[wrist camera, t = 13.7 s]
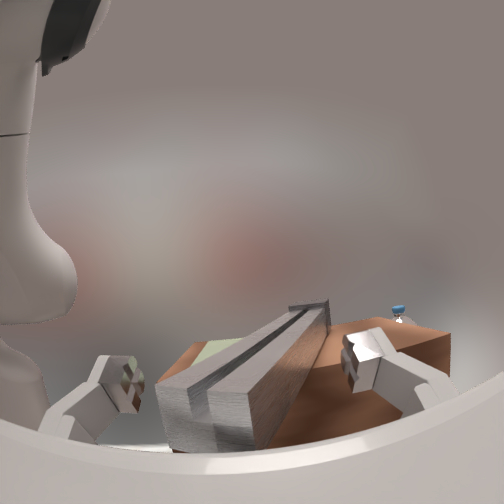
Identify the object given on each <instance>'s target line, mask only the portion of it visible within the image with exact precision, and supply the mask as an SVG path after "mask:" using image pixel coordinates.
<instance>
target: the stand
mask: <svg viewBox="0 0 504 504" xmlns="http://www.w3.org/2000/svg"><path fill="white" fill-rule="evenodd" d="M376 327H380V328H381V329H382V330H383V332H384V333H385V335H386V336H387V338H388V339H389V341H390V342H391V344H392V345H393V347H394V348H395V350H396V351H397V353H398V352H402V353H404V354H406V355H408V356H410V357H412V358H414V359H416V360H418V361H420V362H423V363H425V364H427V365H429V366H431V367H433V368H435V369H437V370H439V371H442V372H444V373H446V374H447V375H448V377H450V350H451V344H450V343H451V338H450V337H451V333H448V332H442V331H438V330H434V329H429V328H424V327H420V326H415V325H411V324H407V323H402V322H398V321H393V320H389V319H385V318H380V317H375V318H370V319H365V320H360V321H354V322H349V323H344V324H339V325H333V326H331V329H330V331H329V334H327V336H326V338H325V340H324V342H323V344H322V346H321V349H320V351H319V353H318V355H317V357H316V359H315V361H314V363H313V365H312V367H311V369H310V371H309V373H308V375H307V377H306V379H305V381H304V383H303V385H302V387H301V389H300V391H299V393H298V395H297V397H296V398H295V400H294V402H293V404H292V406H291V408H290V409H289V411H288V413H287V415H286V417H285V418H284V420H283V422H282V424H281V426H280V427H279V429H278V431H277V432H276V434H275V436H274V438H273V439H272V441H271V443H270V444H269V446H268V448H267V449H274V448H282V447H289V446H295V445H301V444H307V443H312V442H318V441H322V440H327V439H332V438H336V437H341V436H345V435H349V434H353V433H356V432H360V431H364V430H367V429H371V428H374V427H378V426H381V425H384V424H387V423H390V422H393V421H396V420H399V419H400V418H401V416H402V414H403V412H402V411H400V410H399V409H398V408H396V407H395V406H394V405H392V404H391V403H389V402H388V401H387V400H385V399H384V398H383V397H381V396H380V395H379V394H377V393H376V392H375V391H373V389H370V390H366V391H362V392H357V393H353V394H352V391H351V389H350V386H349V384H348V382H347V380H348V375H346V374H345V373H344V372H343V369H342V366H341V359H340V356H341V350H342V349H343V348H344V346H343V344H342V339H343V336H344V335H345V334H350V333H355V332H359V331H364V330H368V329H372V328H376ZM207 343H208V341H207V342H195V343H194V344H193V345H192V346H191V347H190V348H189V349H188V350H187V351H186V352H185V353H184V354H183V355H182V356H181V357H180V359H178V361H177V362H176V363H175V364H174V365H173V366H172V367H171V368H170V369H169V370H168V371H167V372H166V373H165V374H164V375H163V376H162V377H161V378H160V379H159V380H158V381H157V383H159V382H161V381H163V380H165V379H167V378H169V377H171V376H173V375H175V374H177V373H179V372H181V371H183V370H185V369H187V368H189V367H190V366H191V365H192V363H193V362H194V361H195V359H196V358H197V356H198V355H199V354H200V352H201V351H202V350H203V348H204V347H205V346H206V344H207ZM172 451H173V453H188V452H184V451H179V450H175V449H172Z"/></svg>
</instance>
